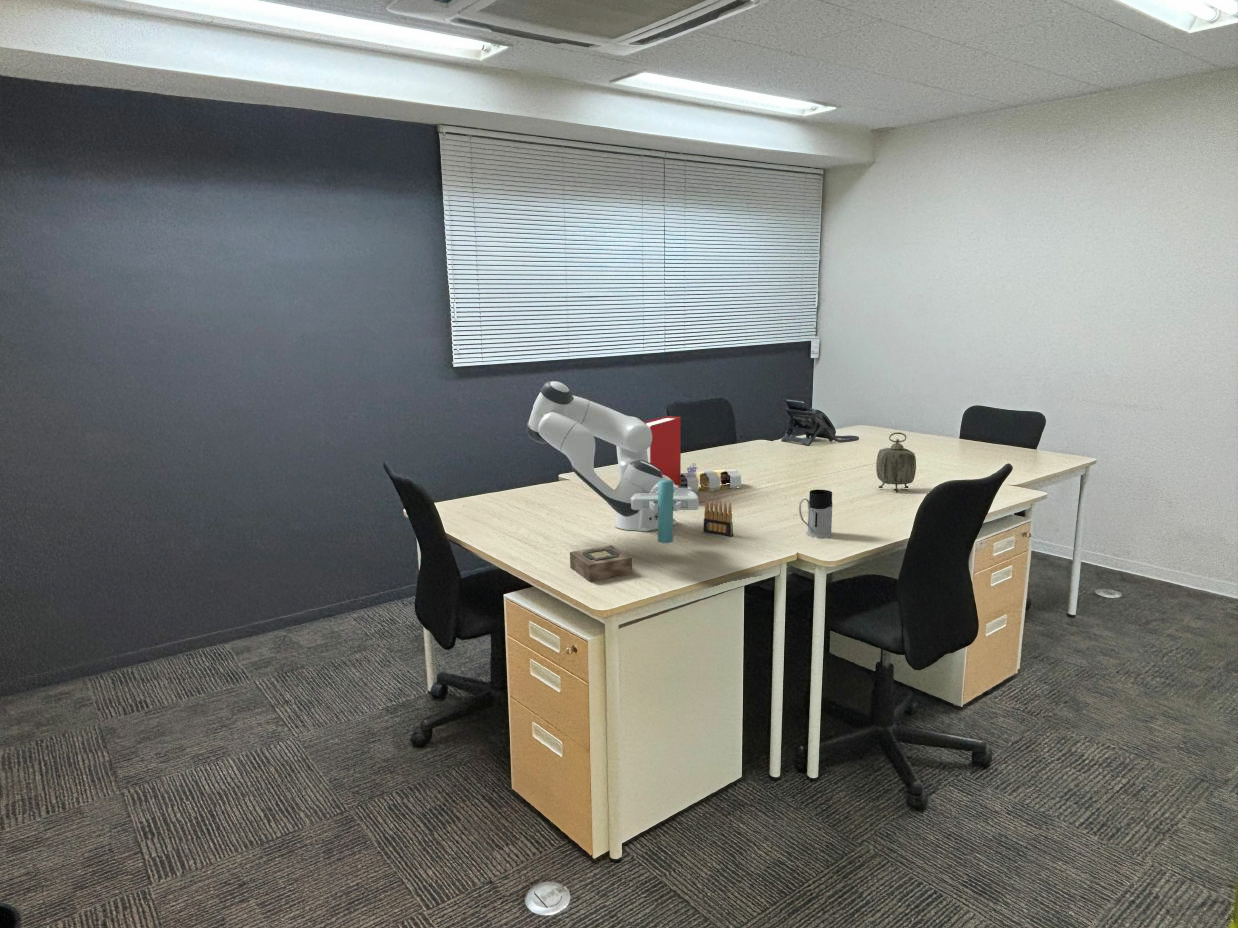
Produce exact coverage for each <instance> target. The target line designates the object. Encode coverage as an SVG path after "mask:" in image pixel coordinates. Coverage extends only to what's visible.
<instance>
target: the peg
mask: <svg viewBox="0 0 1238 928" xmlns="http://www.w3.org/2000/svg"><path fill="white" fill-rule="evenodd" d="M673 518H674V511H673V481H672V480H659V481H658V529H657V542H659V543H660V544H661V543H662V544H670V543H672V542H673V540H674V539H673V538H674V534H673V533H674V532H673V531H674V525H673Z"/></svg>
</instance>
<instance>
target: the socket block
mask: <svg viewBox="0 0 1238 928" xmlns="http://www.w3.org/2000/svg"><path fill="white" fill-rule="evenodd" d="M600 551H606V552H608V553H609V554H611V556H605V557H599V558H595V557H593V556H592V555H590V554H589V553H594V552H600ZM569 567H570V569H571V570H572V571H574V572H575V571H576V573H577V574H579V575H580V576H581V577H582V576H583V577H582V578H584V579H585V578H586V579H587V580H586V579H585V580H586V581H588V582H589V581H590V582H595V581H594V580H596V581H600V580H604V579H605V580H606V579H612V578H617V577H622V576H628V575H633V557H632V556H630V555H628V554H627V553H625V552H623V551H622V550H620V549H619V548H616V547H615V546H613V545H604V546H599V547H593V548H587V549H586V548H585V549H580V550H574V551H570V552H569ZM611 577H612V578H611Z"/></svg>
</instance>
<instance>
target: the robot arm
mask: <svg viewBox="0 0 1238 928" xmlns="http://www.w3.org/2000/svg"><path fill="white" fill-rule="evenodd" d="M525 431H526V433H527V436H528V437H529V438H530V439H531V440H533V441H534V442H536V443H538V444H544V445H545V444H549V445H551V446H552V447H553V448H554V449H556V450H558V451H559V452H560V453H562V454H563V455H565V456H566V457H567V458H568V460H569V461H570V464H571V470H572V471H573V473H574V474H575V475H576V476H577V477H578V478H579V479H580V480H581V481H582V482H583V483H585V484H586V485H587V487H589V488H590V489H592V491H594V492H595V493H596V494H598V496H600V497H601V498H602V499H603V501H605V502H606V503H607V504H608V505H609V506H610V507H611V508H612V509H613V511H614V512H616V513H617V515H616V519H615V523H614V526H615V527H616V528H617V529H621V530H625V531H637V532H638V531H639V532H649V531H655V530H658V481H659V480H671V479H670V478H669V477H667V476H665V475H662V473H661V471H660V469H659V468H657V467H656V466H654V465H653V464H651V463H649V462H648V455H647V449H648V448H649V447H650V445H651V443H652V432H651V429H650V428H649V426H648V425H647V424H645V423H644V421H642V420H641V419H640V418H638V417H635V416H629V415H626V414H623V413H622V412H619V411H617V410H614V409H612V408H610V407H608V406H605V405H602V404H600V403H597V402H595V401H591V400H588V399H587V398H583V397H581V396H578V395H577V396H576V395H573V392H572V391H571V389H570V387H569V386H568V385H566V384H565V383H563V382H560V381H557V380H550V381H546V382H545V383H544V384H543V386H542V387H541V388H540V392H539V394H538V396H537V397H536V399H535V401H534V403H533V407H532V410H531V413H530V416H529V419H528V421H527V423H526V429H525ZM595 438H598V439H601V440H602V441H605V442H608V443H610V444H612V445H614V446H615V447H616V456H617V465H618V484H617V485H616V487H615V488H613V487H611V486H610V485H609V484H608V483H607V482H606V481H605V480H603V479H602V478H601V477H600V476H598V475H597V473H596V471H595V467H594V463H595V462H594V461H595V454H596V440H595ZM699 501H700V499H699V496H698V495H697V493H695V492H693V491H692V488H690V487H684V486H677V485H675V484H674V482H673V512H679V511H697V510H699V506H700V504H699V503H700V502H699ZM675 525H677V520H676V519H675V518H674V517H673V526H675Z"/></svg>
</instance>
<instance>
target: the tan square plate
mask: <svg viewBox="0 0 1238 928" xmlns="http://www.w3.org/2000/svg"><path fill="white" fill-rule="evenodd" d="M589 554H590V555H592V556H593V557H595V558H599V557H605V556H611V554H609V553H608V552H606V551H600V552H594V553H589Z"/></svg>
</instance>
